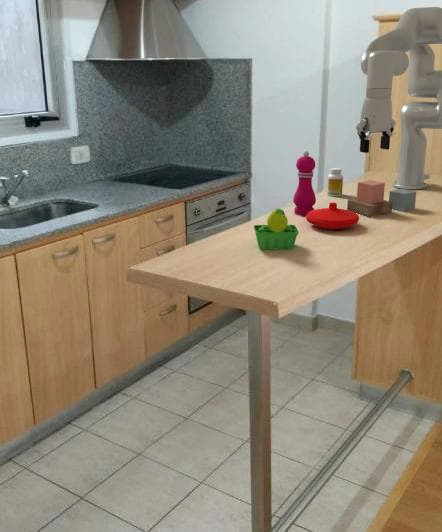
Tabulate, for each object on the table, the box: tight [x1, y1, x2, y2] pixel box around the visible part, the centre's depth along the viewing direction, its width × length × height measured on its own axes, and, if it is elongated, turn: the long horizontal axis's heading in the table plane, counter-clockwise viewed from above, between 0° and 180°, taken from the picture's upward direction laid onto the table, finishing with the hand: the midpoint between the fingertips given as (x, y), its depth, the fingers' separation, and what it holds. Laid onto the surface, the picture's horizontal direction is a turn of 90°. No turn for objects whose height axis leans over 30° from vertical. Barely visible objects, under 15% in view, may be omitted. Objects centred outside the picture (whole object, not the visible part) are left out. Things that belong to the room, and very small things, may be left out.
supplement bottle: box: [326, 167, 344, 197], centre depth 217 cm, size 5×5×10 cm
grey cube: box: [388, 188, 417, 213], centre depth 198 cm, size 6×6×6 cm
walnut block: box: [346, 198, 393, 218], centre depth 195 cm, size 10×10×4 cm
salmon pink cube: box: [356, 179, 386, 204], centre depth 193 cm, size 6×6×6 cm
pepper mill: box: [292, 151, 317, 217], centre depth 191 cm, size 7×7×20 cm
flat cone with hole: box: [305, 202, 360, 230], centre depth 179 cm, size 16×16×7 cm
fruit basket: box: [253, 208, 299, 250], centre depth 159 cm, size 11×9×11 cm
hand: (374, 150), depth 189 cm, fingers open, 9 cm apart
